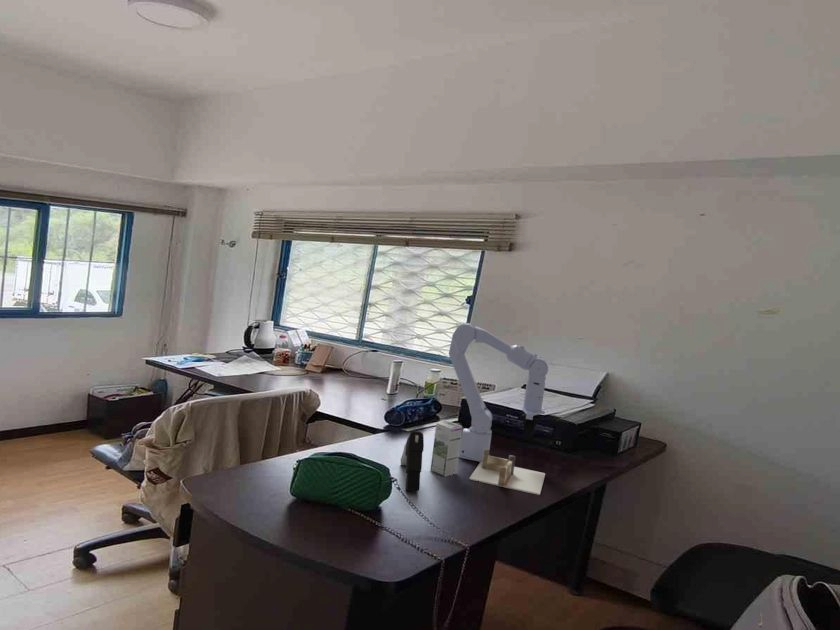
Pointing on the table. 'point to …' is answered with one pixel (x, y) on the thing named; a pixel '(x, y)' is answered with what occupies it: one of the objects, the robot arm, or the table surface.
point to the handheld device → (413, 460)
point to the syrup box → (446, 448)
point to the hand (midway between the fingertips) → (528, 437)
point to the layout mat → (512, 479)
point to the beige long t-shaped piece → (505, 473)
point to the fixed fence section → (496, 462)
